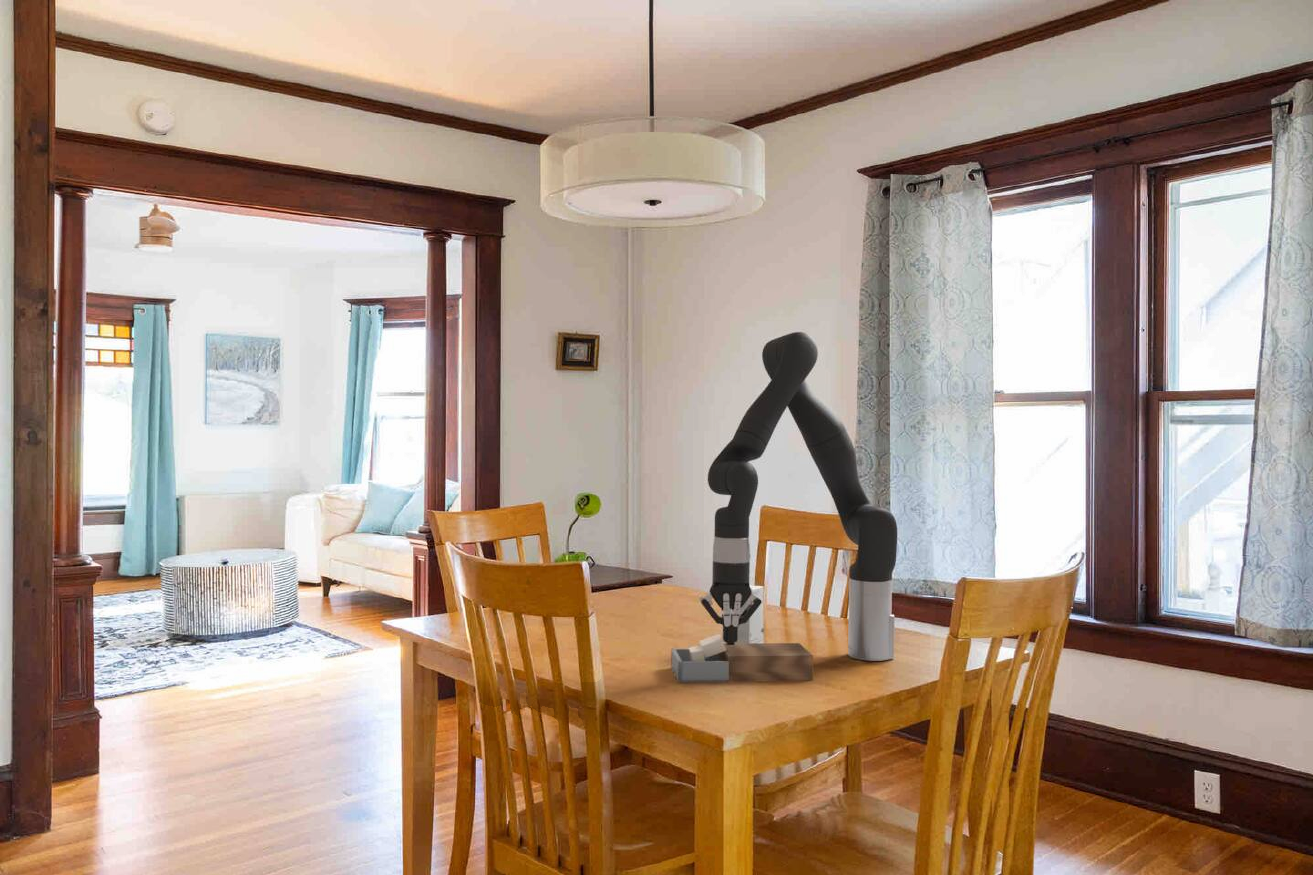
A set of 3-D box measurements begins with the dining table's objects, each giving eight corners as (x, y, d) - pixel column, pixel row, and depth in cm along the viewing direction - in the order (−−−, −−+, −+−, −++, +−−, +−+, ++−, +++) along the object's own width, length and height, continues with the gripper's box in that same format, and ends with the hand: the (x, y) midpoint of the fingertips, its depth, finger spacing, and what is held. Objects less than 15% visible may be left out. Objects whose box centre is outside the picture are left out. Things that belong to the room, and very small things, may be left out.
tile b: (700, 645, 196) (688, 647, 196) (703, 650, 191) (690, 652, 191) (704, 666, 196) (692, 669, 196) (707, 672, 191) (695, 674, 191)
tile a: (723, 644, 197) (719, 633, 197) (726, 650, 193) (722, 638, 193) (703, 652, 197) (699, 640, 197) (705, 657, 193) (701, 646, 192)
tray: (718, 667, 200) (718, 647, 200) (728, 682, 188) (728, 661, 188) (671, 667, 199) (671, 648, 199) (678, 682, 187) (678, 662, 187)
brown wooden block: (798, 666, 201) (798, 642, 201) (812, 680, 190) (812, 655, 190) (718, 667, 199) (719, 643, 199) (728, 681, 188) (728, 656, 188)
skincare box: (749, 658, 208) (750, 590, 208) (724, 654, 211) (725, 587, 211) (764, 650, 215) (765, 585, 215) (740, 647, 218) (741, 582, 218)
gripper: (759, 556, 198) (758, 639, 198) (696, 556, 197) (694, 640, 197) (767, 561, 191) (765, 648, 191) (701, 561, 189) (700, 648, 189)
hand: (729, 644), depth 194 cm, fingers closed
